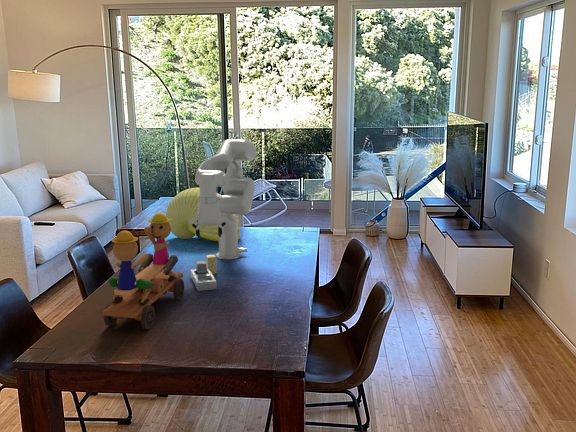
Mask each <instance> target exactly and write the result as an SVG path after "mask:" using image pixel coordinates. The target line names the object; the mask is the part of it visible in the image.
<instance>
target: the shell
mask: <svg viewBox="0 0 576 432" xmlns="http://www.w3.org/2000/svg"><path fill="white" fill-rule="evenodd" d="M216 193H217V197H219V196H221V195H222V194H220V193H218V192H217V191H216ZM198 203H200V187H191V188H188V189H185V190H182V191H180V192H178V193H177V194H176V195H175V196H173V198H172V199H170V201H169V203H168V205H167V207H166V210H165V211H166V212H165V215H166V217H167V218H169V219H171V221H170V222H169V224H170V226H171V232H170V233H171V234H172V235H174V236H175V237H177V238H179V239H182V240H189V239H192V238H194V237H195V236H196V229H195V228H194V227H193V226H192V225H191V223H190V221H189V220H191V219H192V218H194V217H196V216H197V208H198ZM233 216H234V217H235V219H236V221H237V236H238V241H239V240H240V239H241V226H240V222H239V221H240V220H239V216H238V215H237V214H233ZM194 224H195V225H197V224H198V223H197V220H195V221H194ZM199 230H200V238H203V239H206V240H210V241H214V242H217V243H219V236H218V225H204V226H201V227H200V228H199Z"/></svg>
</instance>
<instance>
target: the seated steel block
mask: <svg viewBox="0 0 576 432" xmlns="http://www.w3.org/2000/svg"><path fill="white" fill-rule="evenodd" d="M195 269H196V275H199V274H207V267H206V260H202V261H201V260H198V261H195Z"/></svg>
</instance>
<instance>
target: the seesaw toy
mask: <svg viewBox="0 0 576 432" xmlns="http://www.w3.org/2000/svg"><path fill="white" fill-rule="evenodd" d="M170 221H171V219H169V218H167V217H166V213H163V212H156V213H155V214H153V216H152V218H150V219H148V221H147V222H148V223H150V225H149V226H148V225H147V226H145V227H144V228H143V232H144V233H145V234H146V236H147V237H148V239H149V240H150V242H151V244H153V250H154V252H153V253H146V252H143V253H142V254H141V255H140V256H139V257H138V258H137V259H136V260H135V261H134V262H133V263H132V260H133V259H134V258H136V256H137V255H138V252H139V246H138V244H137V241H138V240H139V237H137V236H133V233H131V232H130V231H128V230H121V231H119V232H118V234H116V237H114V238H111V242H112V243H114V244H113V245H112V246H113V247H112V253H113V255H114V257H115V259H117V260H119V261H120V262H121V263H116V267H118V268H119V275H118V277H117V276H112V277H110V278H109V280H108V285H109V286H110V287H112V288H115V289H114V290H113V291H114V296H113V298H112V300H113V301H112V302H109V303H107V305H106V306H105V308H104V309H103V310H102V316H103V321H104V324H105V325H106V327H113V326H115V325H116V324H117V321H118V319H119V320H122V319H123V318H124V319H125V318H129V319H135V321H140V324H141V327H142V329H143V330H148V331H149V330H151V329H152V327H153V326H154V323H155V320H156V319H155V318H156V317H155V316H156V312H155V307H154V306H153V305H152V304H153V303H155V302H156V301H157V300H158V299H159V298H160V297H161V296H162V295H166V294H167V292H168V293H173V295H172V296H173V298H174V300H176V301H180V300H182V299H183V296H184V293H185V281H184V280H183V279H182V278H183V277H184V272H177V271H176V272H175V271H172V270H173V269H174V267H175V266H176V264H177V263H178V262H179V257H178V256H177V255H175V254H173V255H170V254H169V250H168V246H169V245H170V242H168V241H167V242H166V239H167V238H168V237H169V236H170V234H171V233H172V232H171V226H170V224H169V222H170ZM138 266H140V267H139V268H138V270H137V271H138V273H137V274H136V273H135V268H137V267H138Z"/></svg>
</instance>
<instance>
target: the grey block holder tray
mask: <svg viewBox="0 0 576 432" xmlns="http://www.w3.org/2000/svg"><path fill="white" fill-rule="evenodd" d="M190 278H191V280H192V282H193V284H194V287H195V288H196V291H198V292H201V291H209V290H217V287H218V286H217V280H216V278H215V276H214V274H212V273H211V272H210V270H209V268H207V274H199V275H196V268H195V269H190Z"/></svg>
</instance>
